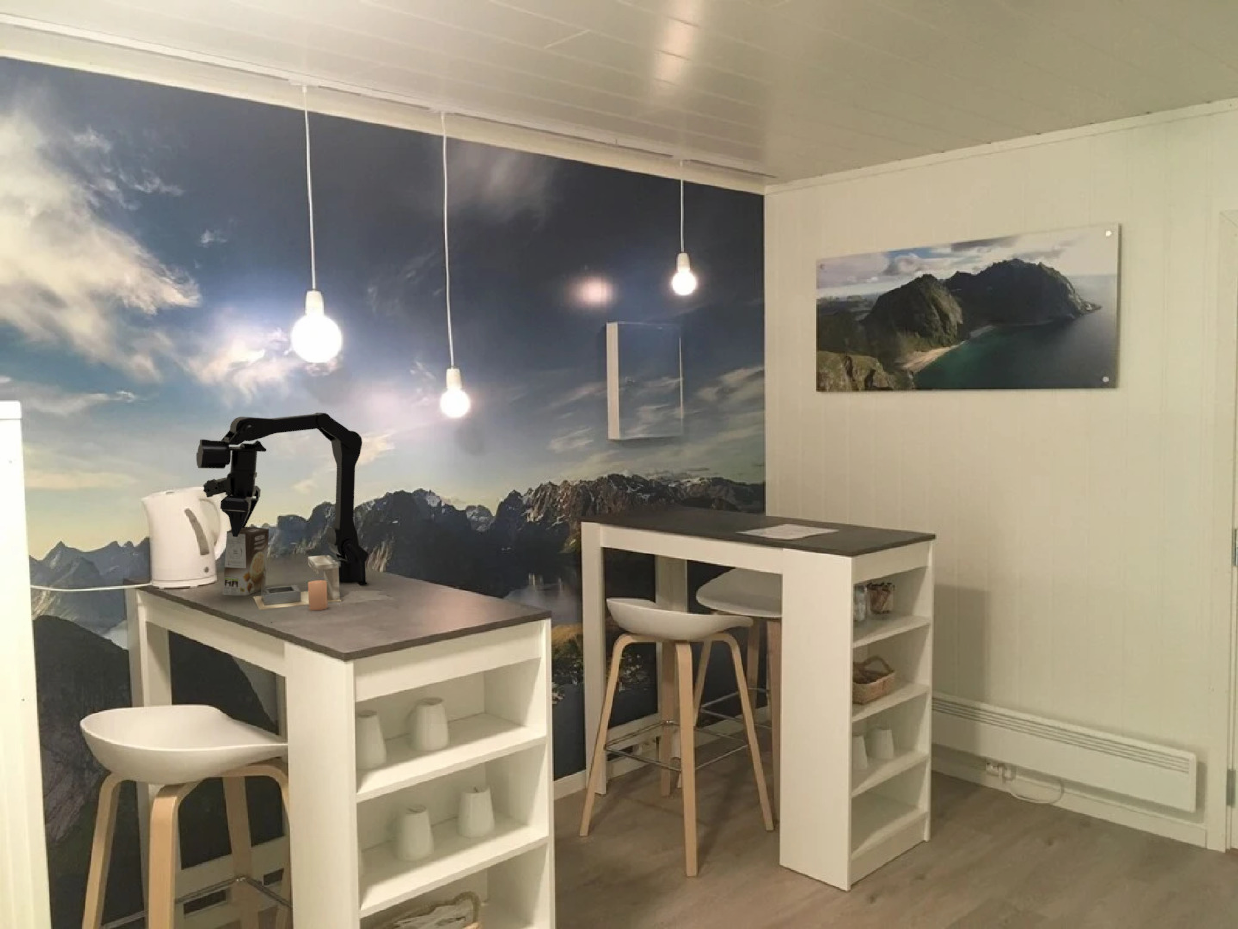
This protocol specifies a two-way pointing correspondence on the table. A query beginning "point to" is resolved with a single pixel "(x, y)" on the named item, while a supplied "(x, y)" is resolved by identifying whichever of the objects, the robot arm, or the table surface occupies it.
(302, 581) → the table surface
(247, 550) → the coffee box
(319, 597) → the peg
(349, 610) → the table surface
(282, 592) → the socket
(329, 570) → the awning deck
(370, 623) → the table surface
